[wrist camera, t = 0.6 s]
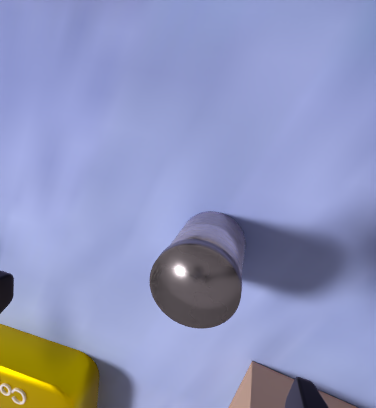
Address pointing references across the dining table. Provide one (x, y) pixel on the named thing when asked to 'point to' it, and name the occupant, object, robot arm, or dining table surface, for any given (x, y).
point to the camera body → (270, 390)
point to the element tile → (44, 373)
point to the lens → (201, 272)
